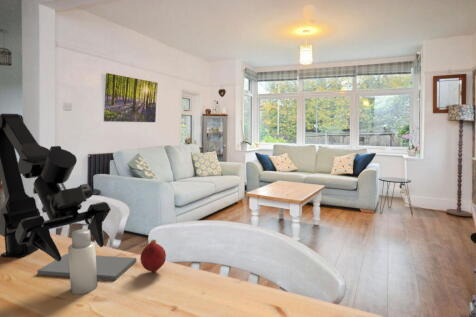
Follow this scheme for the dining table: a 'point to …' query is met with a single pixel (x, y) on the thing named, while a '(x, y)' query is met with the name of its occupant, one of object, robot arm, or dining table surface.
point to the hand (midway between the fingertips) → (82, 252)
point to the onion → (153, 256)
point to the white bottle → (82, 262)
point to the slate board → (104, 264)
